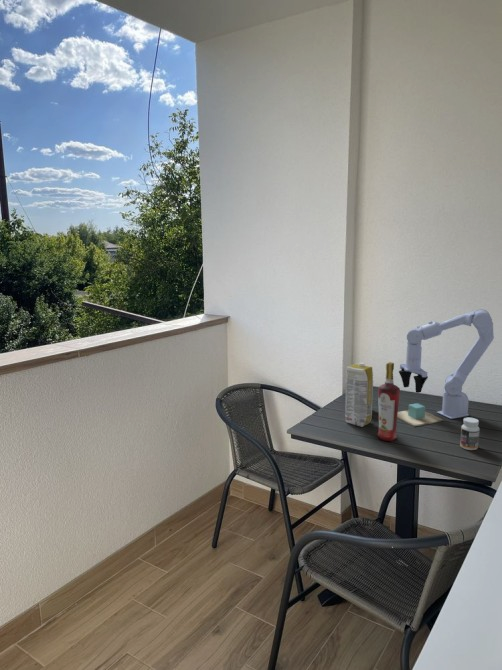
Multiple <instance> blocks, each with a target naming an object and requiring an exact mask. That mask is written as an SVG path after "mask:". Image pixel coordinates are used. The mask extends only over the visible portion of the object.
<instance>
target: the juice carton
mask: <svg viewBox="0 0 502 670" xmlns="http://www.w3.org/2000/svg"><path fill="white" fill-rule="evenodd" d="M345 370H346V372H345V392H344V393H345V394H344V395H345V401H344V417H345V422H346V423H347V424H351V425H354V426H358V427H361V428H363V427H365V426H367V425H368V424H370V423H371V421H372V416H373V415H372V414H373V398H372V393H374V372H373V370H374V369H373V366H369V365H367V366H366V363H365V362H358V363H353V364H350V365H347V366H346V369H345Z"/></svg>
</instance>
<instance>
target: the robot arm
mask: <svg viewBox="0 0 502 670" xmlns="http://www.w3.org/2000/svg"><path fill="white" fill-rule="evenodd" d="M462 325H464V326H468V327H472V325H473V326H474V328H475V329H476V330H477V333H478V337H477V338H476V341H475V342H474V343H473V344H472V346H471V348H470V349H469V350H468V352H467V353H466V355H465V357H463V359H462V360H461V363H460V364H459V365H458V366H457V367H456V369H455V370H454V371H453V373H451V374H450V375H448V376H447V377H446V379H445V384H444V390H443V391H442V392H443V393H442V403H441V404H442V406H441V407H442V408H441V410H438V411H436V413H437V414H439V415H441V416H443V417H445V418H448V419H451V420H453V419H458V418H459V419H460V418H465V417H468V416H470V414H469V413H468V411H469V397H468V395H467V393H466V392H462V391H463V386H464V384H465V382H466V380H467V378H468V376H469V375H470V373H471V372H472V370H473V369H474V368H475V366H476V365H477V363H478V362H479V361H480V359H481V358H482V356H483V355H484V354H485V352H487V349H488V348H489V346H490V345H491V344H492V343H493V340H494V339H495V338H494V337H495V336H494V334H495V333H494V323H493V318H492V316H491V314H490V313H489V312H488V311H487V309H482V308H479V309H476V310H475V311H474V310H471V311H468V312H465V313H462V314H459V315H457V316H453V317H452V318H449V319H447V320H444V321H442V322H441V321H440V322H438V321H435V320H434V321H432V320H430V321H428V323H427V324H424V325H418V326H416V327H414V328H413V327H412V328H411V329H409V331H408V332H407V334H406V340H407V344H406V345H407V346H406V358H405V359H406V360H405V361H406V362H405V363H399V369H400V370H398V374H399V376H400V378H401V381H402V385H403V388H409V387H410V380H411V376H412V374H415V375H413V380H414V383H415V393H417V394H418V393H422V389H423V387H424V385H425V383H426V381H427V380H428V372H427V371H426V370H424V369H422V368H421V367H422V366H421V365H422V350H423V349H422V340H423V341H425V340H429V339H432V338H435V337H438V336H440V335H441V334H442V333H443V331H446V330H450V329H452V328H456V327H458V326H462Z"/></svg>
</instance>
